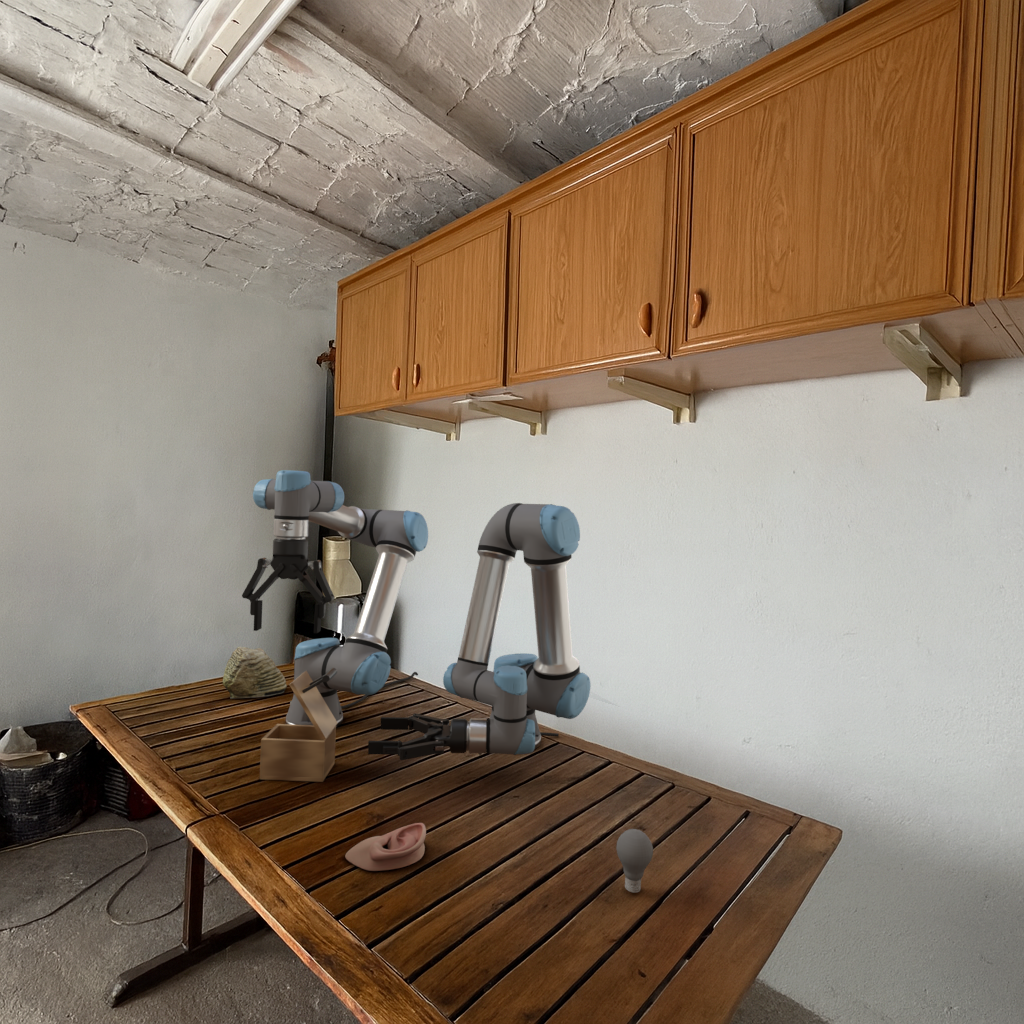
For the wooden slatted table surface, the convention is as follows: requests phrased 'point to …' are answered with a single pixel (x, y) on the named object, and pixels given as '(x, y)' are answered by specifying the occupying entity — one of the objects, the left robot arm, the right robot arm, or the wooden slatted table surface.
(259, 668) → the fossil
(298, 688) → the lid
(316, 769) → the chest
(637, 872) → the light bulb
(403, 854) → the anatomical model
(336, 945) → the wooden slatted table surface
